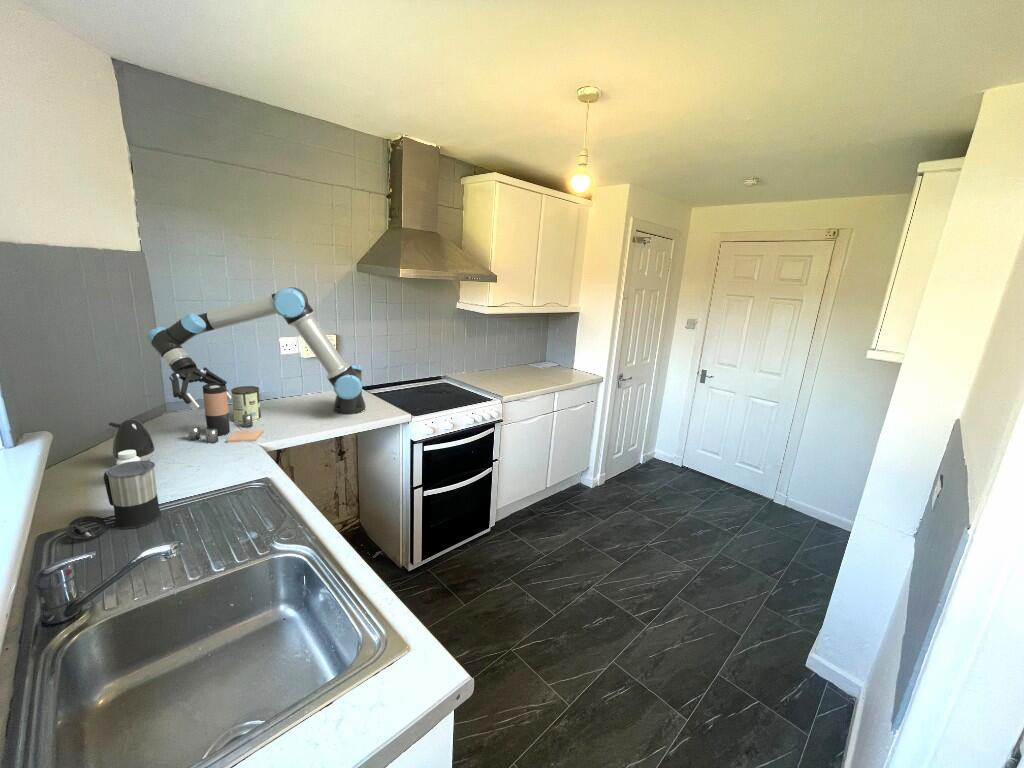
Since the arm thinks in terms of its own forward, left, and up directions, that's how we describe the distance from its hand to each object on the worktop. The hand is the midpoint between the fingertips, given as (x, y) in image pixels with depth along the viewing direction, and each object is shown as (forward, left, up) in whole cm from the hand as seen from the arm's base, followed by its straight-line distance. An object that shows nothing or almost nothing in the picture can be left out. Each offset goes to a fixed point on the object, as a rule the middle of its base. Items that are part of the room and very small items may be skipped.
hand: (214, 404), depth 162 cm
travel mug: (-1, 0, -12) cm, 12 cm away
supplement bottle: (+8, +40, -12) cm, 43 cm away
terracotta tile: (-12, +5, -12) cm, 18 cm away
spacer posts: (-2, 0, -12) cm, 12 cm away
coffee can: (-6, -17, -13) cm, 22 cm away
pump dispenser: (+14, +26, -12) cm, 32 cm away
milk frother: (-2, +65, -13) cm, 66 cm away
